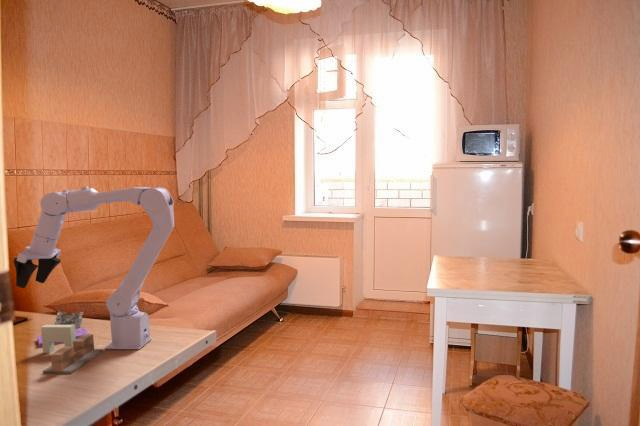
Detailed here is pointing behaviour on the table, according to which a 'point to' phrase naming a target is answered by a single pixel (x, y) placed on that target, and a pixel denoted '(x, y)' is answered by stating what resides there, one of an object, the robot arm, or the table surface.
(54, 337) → the cream h-shaped block
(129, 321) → the robot arm
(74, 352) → the slotted base
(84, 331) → the sponges
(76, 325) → the egg carton
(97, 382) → the table surface
